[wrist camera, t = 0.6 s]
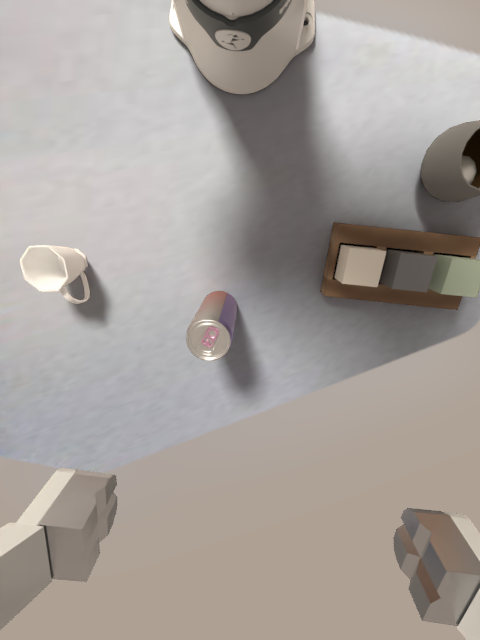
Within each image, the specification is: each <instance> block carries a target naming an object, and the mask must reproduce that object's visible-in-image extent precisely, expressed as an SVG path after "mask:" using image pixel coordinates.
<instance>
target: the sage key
mask: <svg viewBox="0 0 480 640" xmlns="http://www.w3.org/2000/svg"><path fill="white" fill-rule="evenodd" d="M434 256H437V257H438V258H437V261H436V265H435V268H434V271H433V274H432V278H431V281H430V284H429V287H428V289H430V290H433V291H435V292H438V293H440V294H447V295H456V296H466V297H475V298H476V297H477V295H478V292H479V289H480V260H476V259H471V258H465V257H455V256H446V255H436V254H434Z"/></svg>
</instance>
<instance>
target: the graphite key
mask: <svg viewBox="0 0 480 640" xmlns="http://www.w3.org/2000/svg"><path fill="white" fill-rule="evenodd" d="M437 258H438V257H437V256H432V255H428V254H423V253H416V252H407V251H397V250H387V254H386V258H385V262H384V266H383V270H382V274H381V278H380V283H382V284H383V285H385V286H387V287H389V288H391V289H398V290H408V291H418V292H427V291H428V287H429V284H430V281H431V278H432V274H433V271H434V268H435V265H436V261H437Z"/></svg>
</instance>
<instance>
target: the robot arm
mask: <svg viewBox="0 0 480 640" xmlns="http://www.w3.org/2000/svg"><path fill="white" fill-rule="evenodd" d="M304 21H307V22H308V25H306V26H304V25H303V24H304ZM169 23H170V27H171V29H172V31H173V33H174V34H175V35H176V36H177V37H178V38H179V39H180V40H181V41H182V42H183V43H184V44H185V45H186V46H187V47H188V49H189V51H190V52H191V54H192V57H193V59H194V61H195V63H196V65H197V67H198V68H199V70H200V71H201V73H202V74H203V75H204V76H205V77H206V79H207V80H208V81H210V82H211V83H212V84H213V85H215V86H216V87H218V88H219V89H221V90H224V91H226V92H229V93H233V94H249V93H254V92H257V91H259V90H261V89H263V88H265V87H267V86H268V85H270V84H271V83H272V82H273V81H275V80H276V79H277V78H278V77H279V75H280V74H281V73H282V72H283V70H284V69H285V68H286V66H287V65H288V63H289V62H290V61H291V59H292V58H293V57H294V56H296V55H298V54H299V53H301V52H302V51H304V50H305V49H307V48H308V47H309V46H310V45H311V44H312V42H313V40H314V35H315V0H172V2H171V8H170V14H169ZM116 485H117V482H116V476H115V475H111V474H105V473H98V472H91V471H84V470H75V469H68V468H60V469H59V470H57V471H56V472H55V473H54V474H53V475H52V477H51V478H50V479H49V481H48V482H47V483H46V484H45V486H44V487H43V488H42V489H41V491H40V492H39V493H38V495H37V496H36V497H35V498H34V500H33V501H32V502H31V504H30V505H29V506H28V508H27V509H26V510H25V511H24V513H23V514H22V515H21V517H20V518H19V519H18V520H17V522H16V523H8V524H7V525H5V526H3V527H2V528H0V630H1V629H2V628H3V627H4V626H5V625H6V624H7V623H9V621H11V620H12V619H13V618H14V617H15V616H16V615H17V614H18V613H19V612H20V611H21V610H22V609H23V608H24V607H25V606H26V605H27V604H28V603H30V602H31V601H32V600H33V599H34V598H35V597H36V596H37V595H38V594H39V593H40V592H41V591H42V590H43V589H44V588H45V587H47V586H48V585H49V584H50V583H51V582H52V579H58V580H71V581H83V582H87V580H88V578H89V575H90V574H91V571H92V569H93V567H94V565H95V563H96V560H97V558H98V556H99V554H100V549H99V542H100V541H102V540H103V539H104V538H105V537H106V536H108V534H109V532H110V529H111V527H112V525H113V521H114V517H115V514H116V510H117V496H116V495H115V494H114V492H113V491H114V489H115V487H116ZM401 518H402V520H403V523H404V524H403V525H402V526H400V527H399V528H397V529H396V532H395V535H394V551H395V555H396V559H397V562H398V564H399V567H400V569H401V570H402V571H403V572H404V573H405V574H406V575H407V576H408V578H409V579H410V585H409V591H410V593H411V595H412V598H413V600H414V603H415V605H416V607H417V610H418V612H419V614H420V617H421V619H422V621H428V622H434V623H441V624H448V625H454V626H458V627H457V629H458V630H459V631H460V632H461V633H462V634H463V636H464V637H465V638H466V639H467V640H480V533H479V532H478V530H477V529H476V528H475V526H474V525H473V524H472V522H471V521H470V519H469V518H467V517H466V516H465V515H464V514H457V513H448V512H441V511H431V510H422V509H412V508H407V509H406V510H404V511H403V514H402V516H401Z"/></svg>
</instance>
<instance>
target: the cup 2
mask: <svg viewBox="0 0 480 640" xmlns="http://www.w3.org/2000/svg"><path fill="white" fill-rule="evenodd" d="M421 178H422V181H423V184H424V187H425V188H426V190H427V191H428V192H429V193H430V194H431V195H432V196H433V197H435V198H437V199H439V200H442V201H448V202H459V201H462V200H465V199H468V198H471V197H474V196H477V195H480V120H479V121H473V122H466V123H463V124H460V125H457V126H454V127H451V128H449V129H448V130H446V131H445V132H444V133H442V134H441V135H440V136H438V137H437V138H436V139H435V140H434V142H433V143H432V144H431V146H430V147H429V148H428V150H427V151H426V154H425V157H424V159H423V162H422V166H421Z"/></svg>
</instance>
